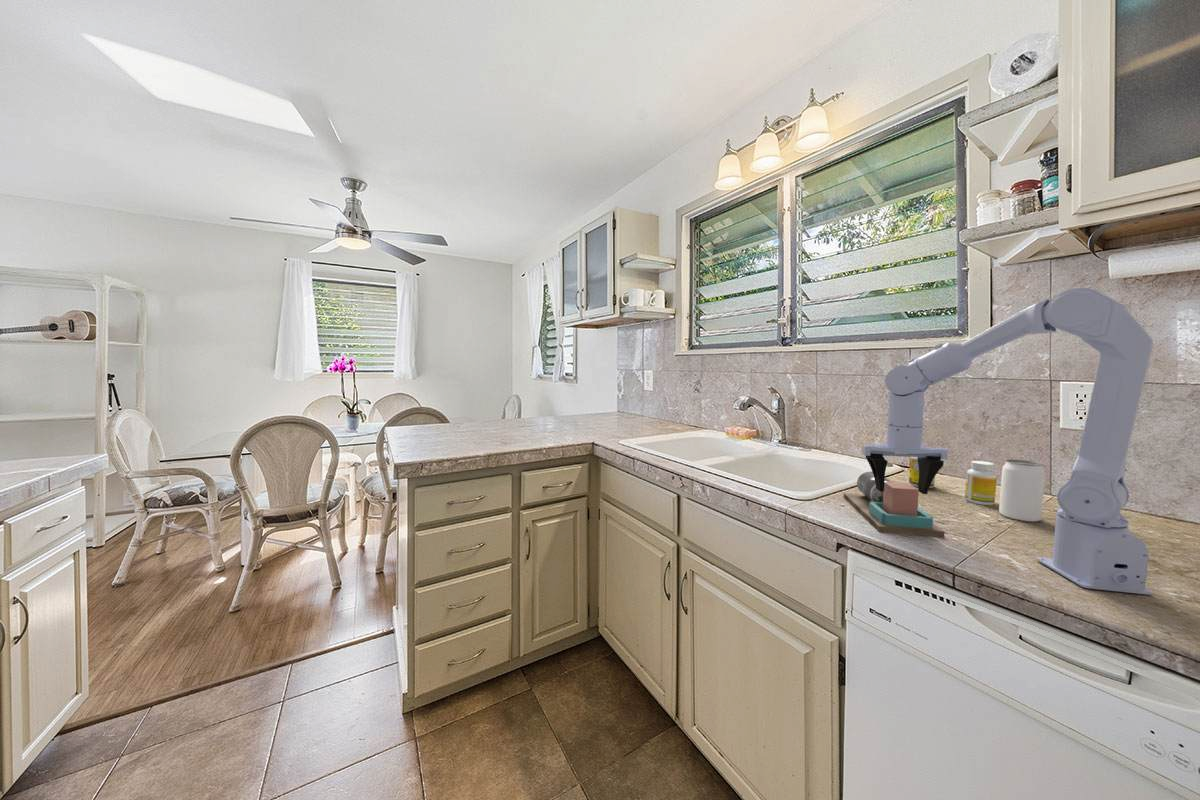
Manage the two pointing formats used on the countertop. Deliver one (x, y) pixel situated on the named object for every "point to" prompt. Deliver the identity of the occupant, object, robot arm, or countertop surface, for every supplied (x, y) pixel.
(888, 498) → the block
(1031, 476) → the can
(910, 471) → the supplement bottle
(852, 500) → the base plate
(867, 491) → the motor
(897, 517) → the teal square tray
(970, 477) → the supplement bottle
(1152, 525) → the countertop surface
